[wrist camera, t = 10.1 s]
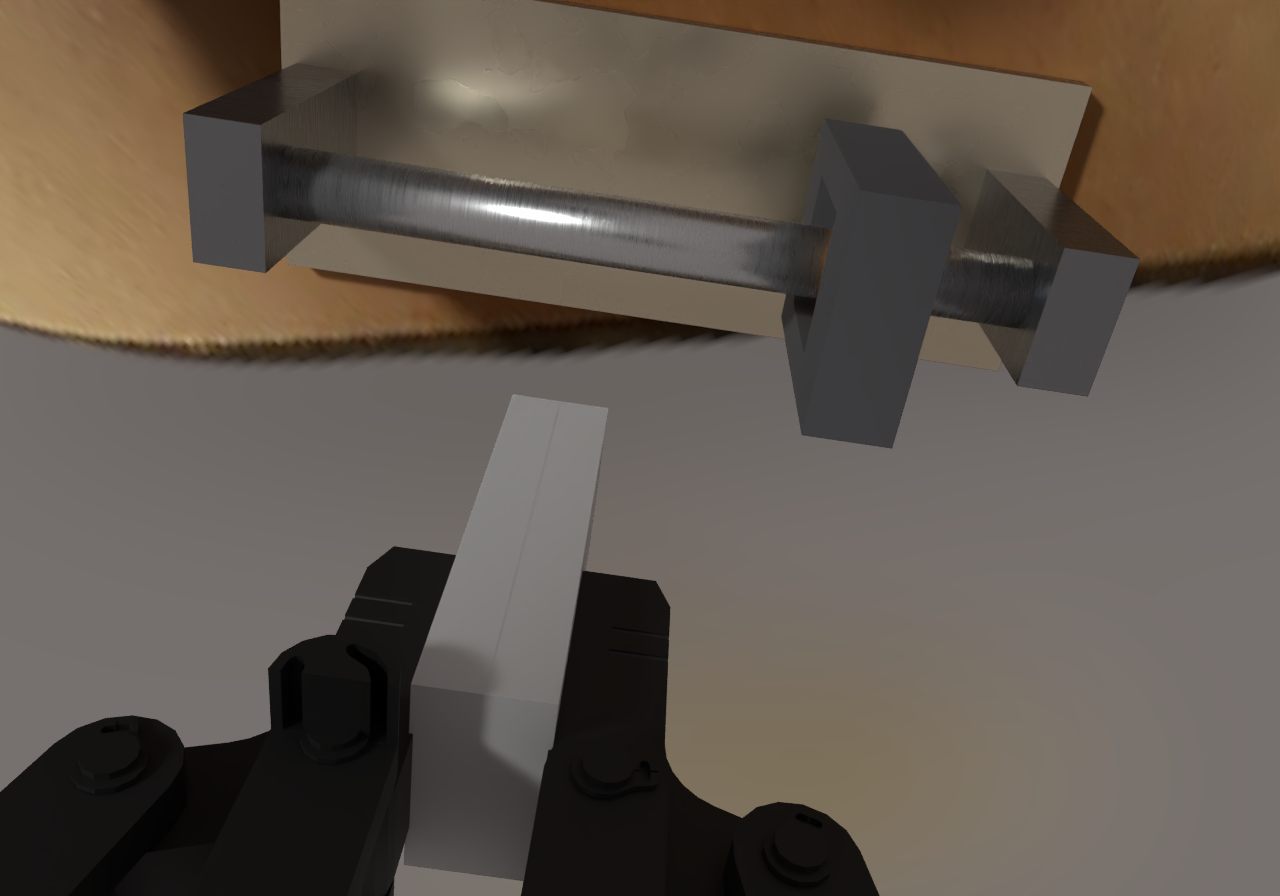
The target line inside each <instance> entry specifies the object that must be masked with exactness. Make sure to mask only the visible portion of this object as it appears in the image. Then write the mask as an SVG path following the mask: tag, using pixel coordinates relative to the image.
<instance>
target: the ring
mask: <svg viewBox="0 0 1280 896" xmlns="http://www.w3.org/2000/svg"><path fill="white" fill-rule="evenodd" d="M961 209H962V205H961V204H960V202H959V201H958V200H957V199H956V197H955V196H954V195H953V194H952V192H951V191H950V190H949V188H948V187H947V186H946V185H945V183H944V182H943V181H942V180H941V178H940V177H939V176H938V175H937V173H936V172H935V171H934V170H933V168H932V167H931V166H930V165H929V163H928V162H927V161H926V160H925V158H924V157H923V156H922V155H921V153H920V152H919V151H918V149H917V148H916V147H915V146H914V144H913V143H912V142H911V141H910V139H909V138H908V137H907V136H906V134H905V133H904V132H903V131H902V130H898V129H892V128H885V127H879V126H872V125H866V124H859V123H853V122H846V121H840V120H833V119H827V118H824V122H823V126H822V131H821V135H820V140H819V145H818V149H817V154H816V159H815V163H814V168H813V172H812V177H811V182H810V186H809V191H808V195H807V200H806V205H805V209H804V214H803V218H802V223H801V224H806V225H812V226H819V227H826V228H833V231H832V235H831V240H830V244H829V248H828V253H827V257H826V261H825V266H824V270H823V274H822V278H821V283H820V287H819V291H818V296H817V299H816V298H810V297H803V296H796V295H790V294H786V297H785V301H784V306H783V311H782V315H781V319H782V324H783V330H784V336H785V342H786V347H787V353H788V359H789V365H790V369H791V376H792V381H793V387H794V393H795V399H796V405H797V410H798V416H799V422H800V428H801V433H802V435H806V436H812V437H819V438H826V439H832V440H838V441H846V442H852V443H859V444H865V445H873V446H879V447H886V448H892V447H893V443H894V440H895V436H896V433H897V430H898V426H899V423H900V419H901V416H902V412H903V409H904V405H905V402H906V399H907V395H908V391H909V388H910V385H911V381H912V378H913V375H914V371H915V368H916V364H917V361H918V357H919V354H920V350H921V347H922V343H923V340H924V337H925V333H926V330H927V326H928V323H929V319H930V316H931V312H932V309H933V306H934V302H935V299H936V295H937V292H938V288H939V285H940V281H941V278H942V275H943V271H944V268H945V264H946V261H947V257H948V254H949V250H950V247H951V243H952V240H953V237H954V233H955V230H956V226H957V223H958V219H959V216H960V212H961ZM833 225H834V227H833Z"/></svg>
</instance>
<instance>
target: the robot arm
mask: <svg viewBox="0 0 1280 896" xmlns="http://www.w3.org/2000/svg"><path fill="white" fill-rule="evenodd" d="M607 415H608V408H603V407H597V406H590V405H583V404H575V403H569V402H562V401H555V400H548V399H542V398H534V397H528V396H521V395H514V394H513V396H512V398H511V401H510V404H509V407H508V410H507V413H506V415H505V418H504V421H503V424H502V427H501V430H500V432H499V435H498V438H497V441H496V444H495V447H494V450H493V452H492V455H491V458H490V461H489V464H488V467H487V470H486V472H485V475H484V478H483V481H482V484H481V487H480V489H479V492H478V495H477V498H476V501H475V504H474V506H473V509H472V512H471V515H470V518H469V520H468V524H467V526H466V529H465V532H464V535H463V538H462V540H461V543H460V546H459V549H458V552H457V555H450V554H444V553H436V552H430V551H423V550H416V549H409V548H402V547H393V548H391V549H390V550H389V551H388V552H386V553H385V554H384V555H383V556H381V557H380V558H379V559H377V560H376V561H375V562H373V563H372V564H371V565H370V566H369V567H367V570H366V572H365V574H364V576H363V578H362V580H361V582H360V584H359V587H358V589H357V591H356V593H355V598H353V599H352V601H351V603H350V606H349V608H348V610H347V612H346V614H345V619H344V620H342V623H341V625H340V627H339V629H338V631H337V633H336V635H325V636H321V637H317V638H313V639H308V640H305V641H302V642H300V643H298V644H296V645H295V646H293V647H291V648H289V649H287V650H286V651H284V652H282V653H281V654H280V655H279V657H278V658H277V659H276V660H275V661H274V662H273V663H272V665H271V666H270V667H269V668H268V675H269V694H270V715H271V730H270V731H268V732H265V733H262V734H260V735H257V736H254V737H252V738H249V739H244V740H239V741H234V742H229V743H221V744H212V745H203V746H195V747H185V748H184V745H183V743H182V742H181V740H180V738H179V736H178V735H177V733H176V731H175V730H173V729H172V728H170V727H168V726H167V725H165V724H163V723H162V722H160V721H158V720H156V719H150V718H144V717H138V716H123V717H113V718H105V719H102V720H99V721H96V722H93V723H91V724H88V725H85V726H82V727H80V728H77V729H75V730H74V731H72V732H71V733H69V734H68V735H66V736H65V737H64V738H62V739H60V740H59V741H58V742H56V743H54V744H53V745H52V746H51V747H50V748H49V749H48V750H47V751H46V752H44V753H43V754H42V755H41V756H40V757H39V758H38V759H37V760H36V761H34V762H33V763H32V764H31V765H30V766H29V767H28V768H27V769H25V770H24V771H23V772H22V773H21V774H20V775H19V776H18V777H17V778H16V779H14V780H13V781H12V782H11V783H10V784H9V785H8V786H7V787H5V788H4V789H3V790H2V791H1V792H0V896H394V876H395V873H396V869H397V866H398V863H399V859H400V856H401V853H402V849H403V846H404V843H405V851H404V865H409V866H417V867H424V868H431V869H439V870H446V871H454V872H462V873H469V874H476V875H483V876H491V877H499V878H506V879H513V880H520V881H524V882H523V888H522V893H521V896H879V893H878V891H877V889H876V887H875V885H874V882H873V880H872V877H871V875H870V873H869V870H868V868H867V866H866V863H865V861H864V859H863V856H862V854H861V852H860V850H859V849H858V847H857V846H856V844H855V842H854V841H853V840H852V838H851V836H850V835H849V834H848V832H847V830H845V829H844V828H843V827H842V826H840V825H839V824H838V823H837V822H835V821H834V820H833V819H831V818H830V817H829V816H828V815H827V814H824V813H822V812H819V811H817V810H815V809H812V808H810V807H807V806H805V805H802V804H793V803H783V802H777V803H772V804H768V805H764V806H760V807H757V808H755V809H754V810H753V811H751V812H750V813H749V814H748V815H746V816H745V817H743V818H741V817H738V816H736V815H734V814H731V813H729V812H727V811H724V810H722V809H719V808H717V807H715V806H713V805H711V804H709V803H707V802H706V801H704V800H702V799H700V798H698V797H697V796H695V795H694V794H693V793H692V792H691V791H689V790H688V789H687V788H686V787H685V786H683V784H682V783H681V782H680V781H679V779H678V778H677V777H676V776H675V774H674V773H673V772H672V769H671V767H670V765H669V763H668V760H667V758H666V751H665V724H666V697H667V675H668V649H669V640H668V639H669V625H670V606H669V604H668V602H667V600H666V599H665V597H664V595H663V593H662V591H661V589H660V588H659V586H658V584H657V583H656V581H652V580H645V579H638V578H631V577H624V576H617V575H610V574H603V573H596V572H589V571H586V565H587V559H588V553H589V546H590V539H591V531H592V524H593V517H594V510H595V503H596V495H597V488H598V481H599V473H600V466H601V459H602V452H603V445H604V444H603V443H604V436H605V430H606V423H607Z"/></svg>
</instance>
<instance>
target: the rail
mask: <svg viewBox="0 0 1280 896" xmlns="http://www.w3.org/2000/svg"><path fill="white" fill-rule="evenodd" d="M280 24H281V64H282V70H280V71H278V72H275V73H273V74H271V75H268V76H266V77H264V78H262V79H259V80H257V81H255V82H253V83H250V84H248V85H246V86H244V87H241V88H239V89H237V90H234V91H232V92H230V93H228V94H225V95H223V96H221V97H219V98H216V99H214V100H212V101H210V102H207V103H205V104H203V105H200V106H198V107H196V108H194V109H191V110H189V111H187V112H185V113H183V124H184V138H185V152H186V166H187V181H188V195H189V209H190V224H191V238H192V252H193V262H196V263H202V264H209V265H216V266H222V267H229V268H236V269H242V270H249V271H256V272H262V273H266V272H267V271H269V270H270V269H271V268H272V267H273V266H274V265H275V264H276V263H278V262H279V261H280V260H281V259H282V258H283V257H284V256H285V255H286V261H287V264H288V265H295V266H301V267H308V268H315V269H321V270H328V271H335V272H341V273H348V274H355V275H361V276H368V277H375V278H381V279H388V280H395V281H401V282H408V283H414V284H421V285H428V286H434V287H441V288H448V289H454V290H461V291H468V292H474V293H481V294H488V295H494V296H501V297H508V298H514V299H521V300H528V301H534V302H541V303H548V304H554V305H561V306H568V307H574V308H581V309H587V310H594V311H601V312H607V313H614V314H621V315H627V316H634V317H641V318H647V319H654V320H661V321H667V322H674V323H681V324H687V325H694V326H701V327H707V328H714V329H721V330H727V331H734V332H740V333H747V334H754V335H760V336H767V337H774V338H780V339H785V336H784V330H783V324H782V319H781V315H782V311H783V306H784V301H785V297H786V294H790V295H796V296H803V297H810V298H816V299H817V296H818V291H819V287H820V283H821V278H822V274H823V270H824V266H825V261H826V257H827V253H828V248H829V244H830V240H831V235H832V231H833V228H826V227H819V226H812V225H806V224H801V223H802V218H803V214H804V209H805V205H806V200H807V195H808V191H809V186H810V182H811V177H812V172H813V168H814V163H815V159H816V154H817V149H818V145H819V140H820V135H821V131H822V126H823V122H824V118H827V119H833V120H840V121H846V122H853V123H859V124H866V125H872V126H879V127H885V128H892V129H898V130H902V131H903V132H904V133H905V134H906V136H907V137H908V138H909V139H910V141H911V142H912V143H913V144H914V146H915V147H916V148H917V149H918V151H919V152H920V153H921V155H922V156H923V157H924V158H925V160H926V161H927V162H928V163H929V165H930V166H931V167H932V168H933V170H934V171H935V172H936V173H937V175H938V176H939V177H940V178H941V180H942V181H943V182H944V183H945V185H946V186H947V187H948V188H949V190H950V191H951V192H952V194H953V195H954V196H955V197H956V199H957V200H958V201H959V202H960V204H961V205H962V209H961V212H960V216H959V219H958V223H957V226H956V230H955V233H954V237H953V240H952V243H951V247H950V250H949V254H948V257H947V261H946V264H945V268H944V271H943V275H942V278H941V281H940V285H939V288H938V292H937V295H936V299H935V302H934V306H933V309H932V312H931V316H930V319H929V323H928V326H927V330H926V333H925V337H924V340H923V343H922V347H921V350H920V354H919V357H918V359H920V360H927V361H933V362H940V363H947V364H953V365H960V366H967V367H973V368H980V369H987V370H993V371H998V370H999V367H1000V364H1001V361H1002V362H1003V363H1004V365H1005V367H1006V369H1007V370H1008V372H1009V373H1010V375H1011V377H1012V378H1013V380H1014V381H1015V383H1016V384H1017V386H1022V387H1029V388H1035V389H1042V390H1049V391H1055V392H1062V393H1068V394H1075V395H1082V396H1088V395H1089V392H1090V389H1091V387H1092V384H1093V382H1094V379H1095V376H1096V373H1097V371H1098V368H1099V366H1100V363H1101V361H1102V358H1103V355H1104V353H1105V350H1106V348H1107V345H1108V342H1109V340H1110V337H1111V334H1112V332H1113V329H1114V326H1115V324H1116V321H1117V319H1118V316H1119V313H1120V311H1121V308H1122V306H1123V303H1124V300H1125V298H1126V295H1127V293H1128V290H1129V287H1130V285H1131V282H1132V280H1133V277H1134V274H1135V272H1136V269H1137V266H1138V264H1139V261H1140V259H1139V258H1138V257H1137V256H1136V255H1135V254H1133V253H1132V252H1131V251H1130V250H1129V249H1128V248H1127V247H1125V246H1124V245H1123V244H1122V243H1121V242H1120V241H1118V240H1117V239H1116V238H1115V237H1114V236H1113V235H1112V234H1110V233H1109V232H1108V231H1107V230H1106V229H1105V228H1103V227H1102V226H1101V225H1100V224H1099V223H1098V222H1097V221H1095V220H1094V219H1093V218H1092V217H1091V216H1090V215H1088V214H1087V213H1086V212H1085V211H1084V210H1083V209H1082V208H1080V207H1079V206H1078V205H1077V204H1076V203H1075V202H1073V201H1072V200H1071V199H1070V198H1069V197H1068V196H1067V195H1065V194H1064V193H1063V192H1062V191H1061V190H1060V189H1059V187H1060V184H1061V181H1062V178H1063V175H1064V172H1065V169H1066V166H1067V163H1068V160H1069V157H1070V154H1071V151H1072V148H1073V145H1074V142H1075V139H1076V136H1077V133H1078V130H1079V127H1080V124H1081V121H1082V118H1083V115H1084V112H1085V109H1086V105H1087V102H1088V99H1089V96H1090V93H1091V90H1092V87H1091V86H1089V85H1087V84H1086V83H1084V82H1080V81H1073V80H1067V79H1060V78H1054V77H1048V76H1041V75H1035V74H1028V73H1022V72H1015V71H1009V70H1003V69H996V68H990V67H983V66H977V65H970V64H964V63H957V62H951V61H945V60H938V59H932V58H925V57H919V56H912V55H906V54H900V53H893V52H887V51H880V50H874V49H867V48H861V47H855V46H848V45H842V44H835V43H829V42H822V41H816V40H809V39H803V38H797V37H790V36H784V35H777V34H771V33H764V32H758V31H752V30H745V29H739V28H732V27H726V26H719V25H713V24H706V23H700V22H694V21H687V20H681V19H674V18H668V17H661V16H655V15H649V14H642V13H636V12H629V11H623V10H616V9H610V8H604V7H597V6H591V5H584V4H578V3H571V2H565V1H558V0H280ZM833 227H834V225H833Z"/></svg>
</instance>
